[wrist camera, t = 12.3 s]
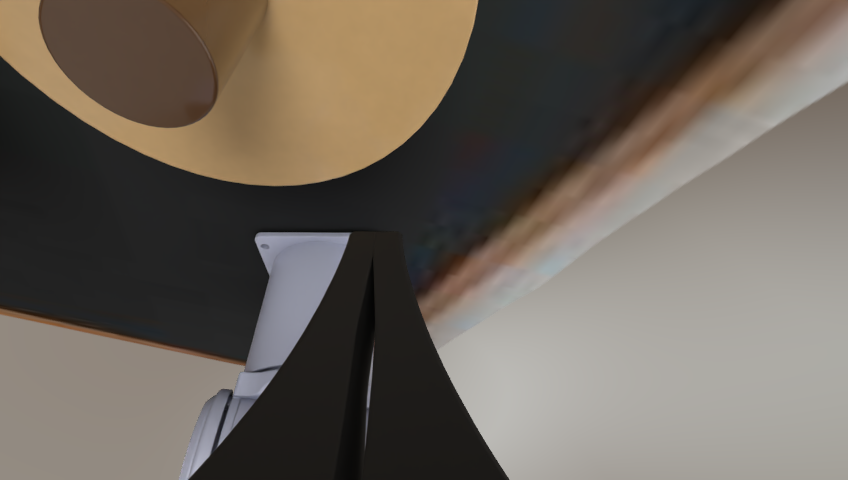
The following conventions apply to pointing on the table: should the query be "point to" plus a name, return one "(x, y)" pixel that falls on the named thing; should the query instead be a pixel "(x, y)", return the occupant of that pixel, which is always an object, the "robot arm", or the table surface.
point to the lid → (244, 77)
